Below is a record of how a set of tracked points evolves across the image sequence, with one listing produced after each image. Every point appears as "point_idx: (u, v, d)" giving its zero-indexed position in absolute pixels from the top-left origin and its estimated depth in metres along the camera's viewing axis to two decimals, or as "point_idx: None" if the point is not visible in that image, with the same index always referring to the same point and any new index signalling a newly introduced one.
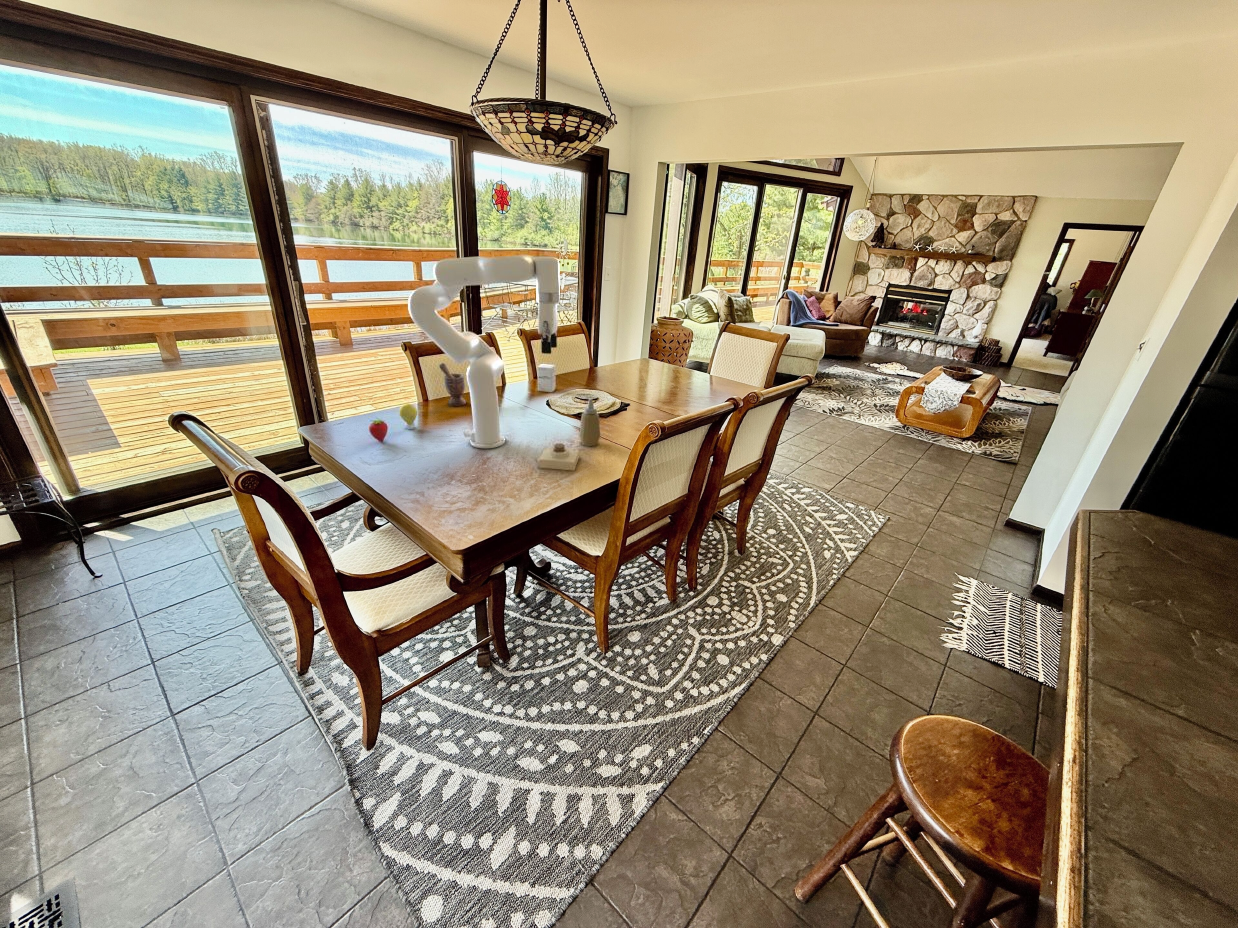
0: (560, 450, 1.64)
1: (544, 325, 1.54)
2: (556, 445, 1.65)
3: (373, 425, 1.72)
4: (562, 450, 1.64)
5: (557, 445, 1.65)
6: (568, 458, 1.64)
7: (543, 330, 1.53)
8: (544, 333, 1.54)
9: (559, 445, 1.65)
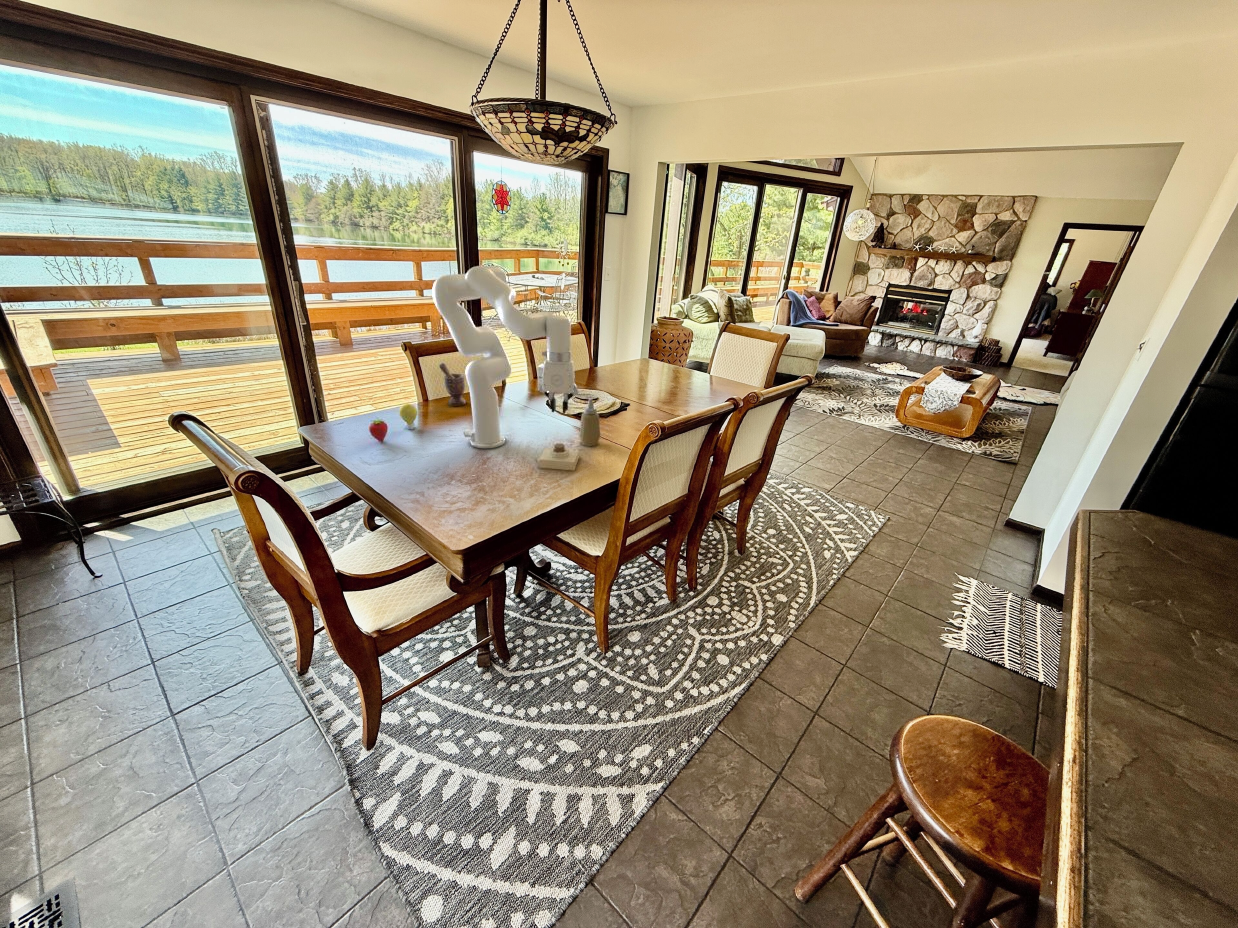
0: (560, 450, 1.64)
1: (575, 386, 1.56)
2: (556, 445, 1.65)
3: (373, 425, 1.72)
4: (562, 450, 1.64)
5: (557, 445, 1.65)
6: (568, 458, 1.64)
7: (578, 392, 1.56)
8: None
9: (559, 445, 1.65)
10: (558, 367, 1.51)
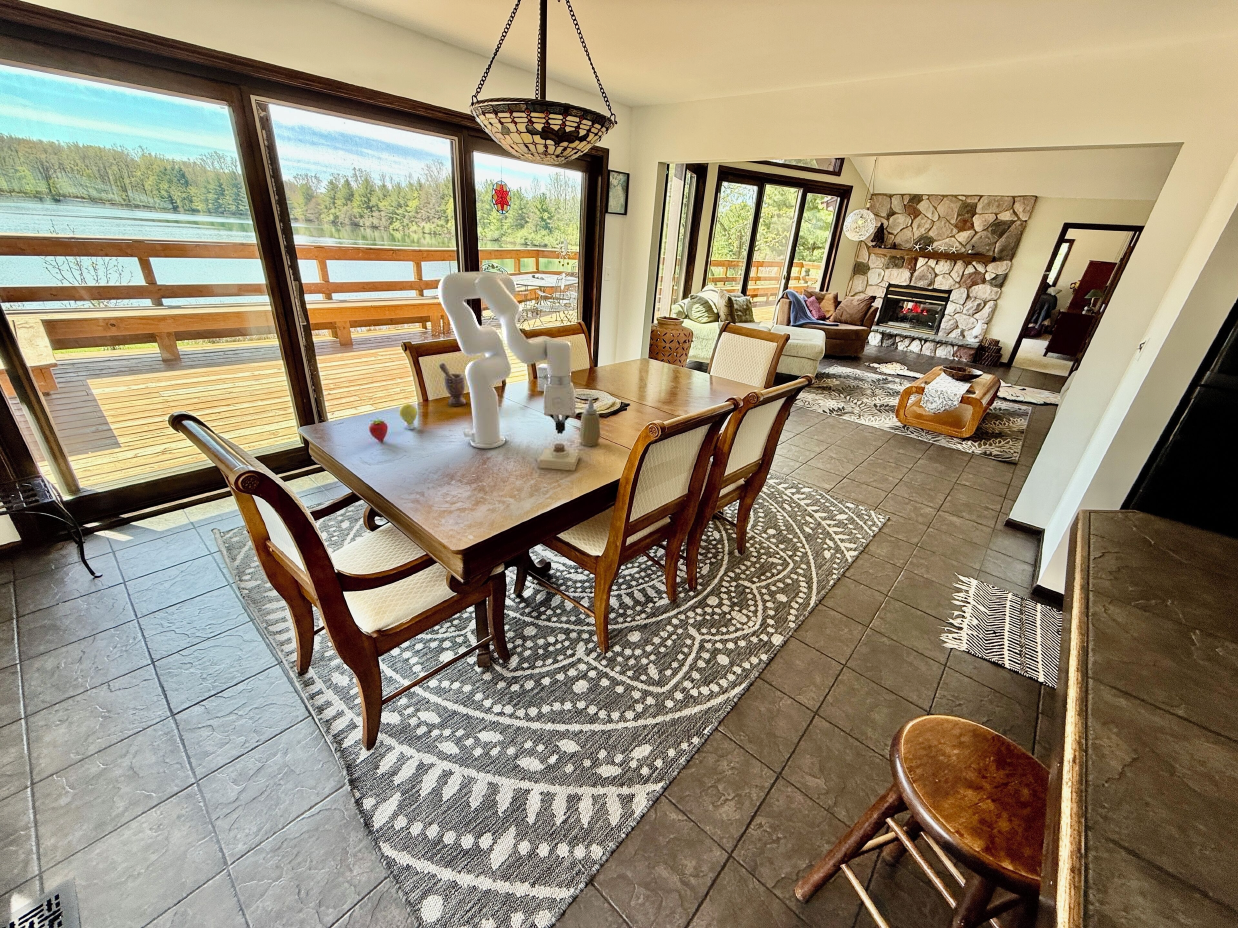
0: (560, 450, 1.64)
1: (574, 409, 1.59)
2: (556, 445, 1.65)
3: (373, 425, 1.72)
4: (562, 450, 1.64)
5: (557, 445, 1.65)
6: (568, 458, 1.64)
7: (575, 415, 1.60)
8: None
9: (559, 445, 1.65)
10: (558, 390, 1.54)
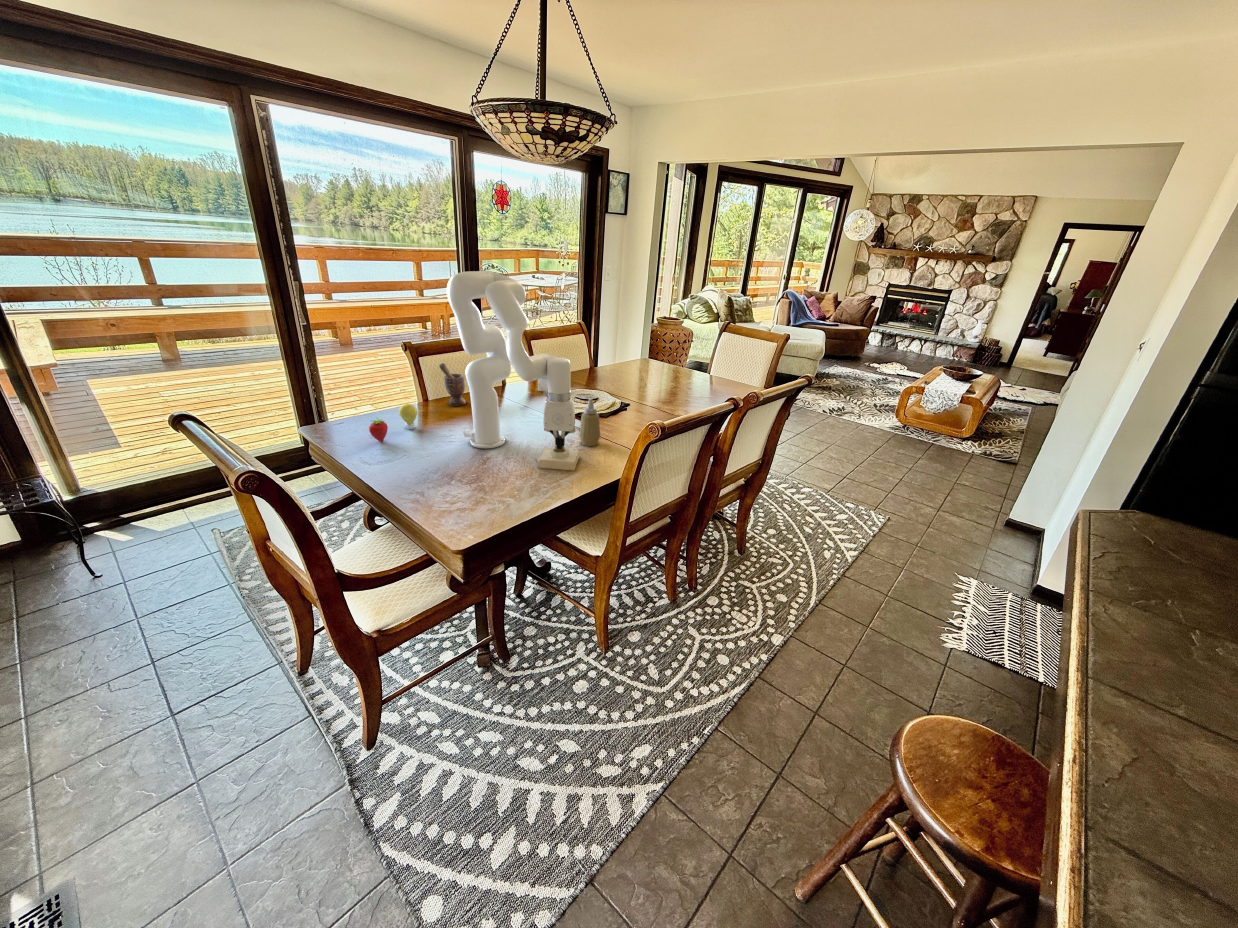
0: None
1: (573, 425, 1.61)
2: (556, 447, 1.65)
3: (373, 425, 1.72)
4: None
5: None
6: (568, 458, 1.64)
7: (574, 431, 1.62)
8: None
9: None
10: (558, 407, 1.56)
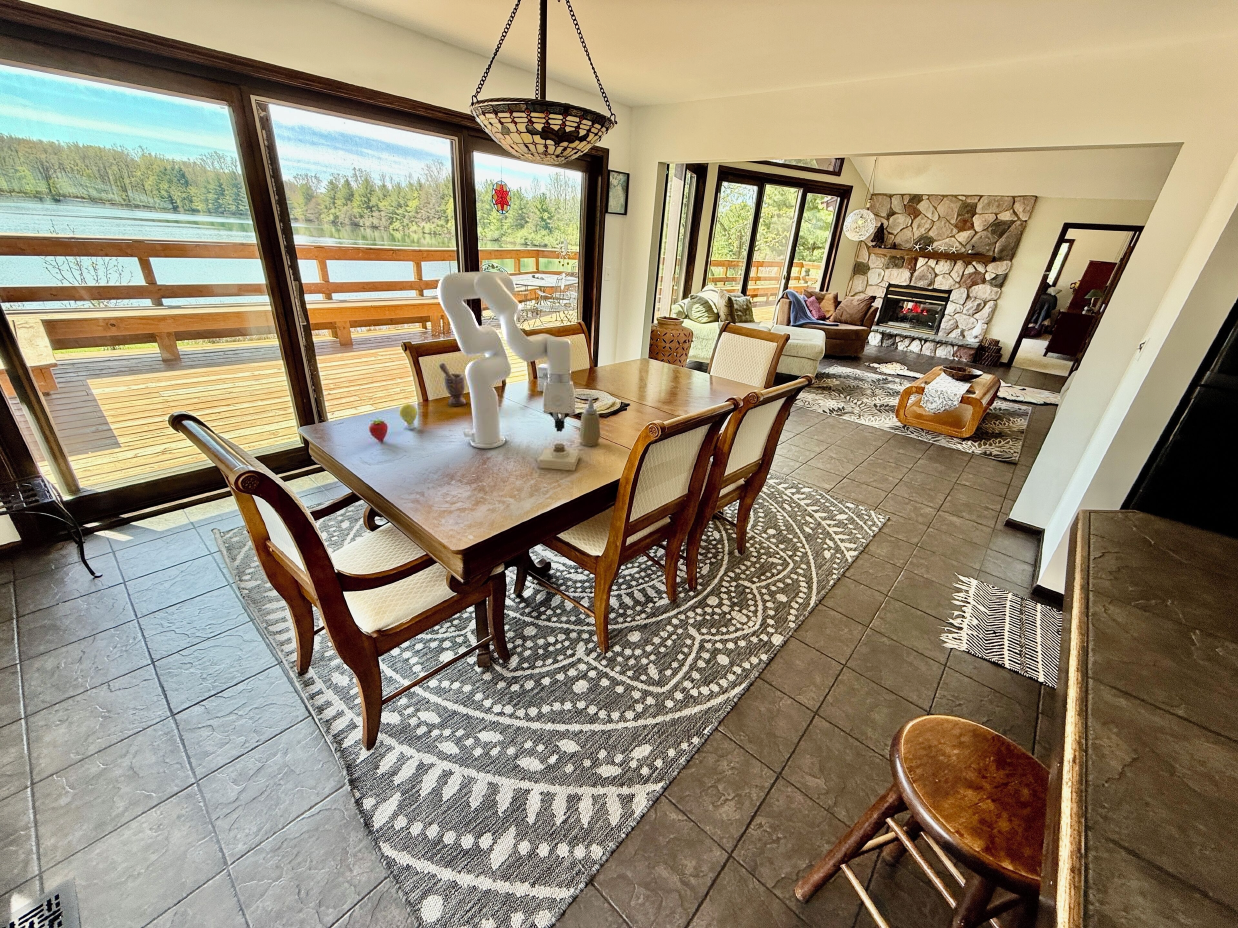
0: (560, 450, 1.64)
1: (574, 407, 1.59)
2: (556, 445, 1.65)
3: (373, 425, 1.72)
4: (562, 450, 1.64)
5: (557, 445, 1.65)
6: (568, 458, 1.64)
7: None
8: None
9: (559, 445, 1.65)
10: (558, 388, 1.54)
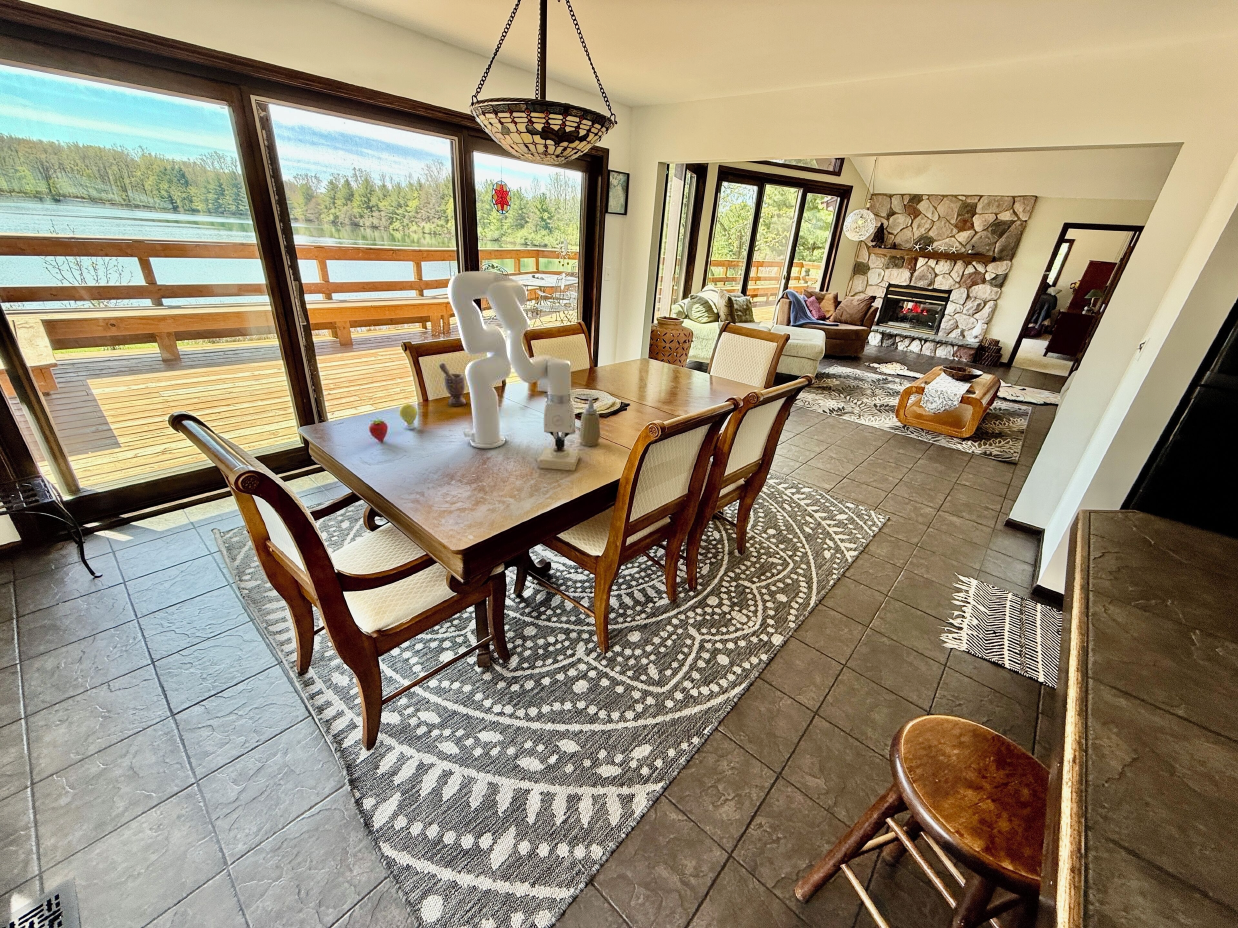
0: None
1: (574, 426, 1.62)
2: (556, 448, 1.66)
3: (373, 425, 1.72)
4: None
5: None
6: (568, 458, 1.64)
7: None
8: None
9: None
10: (558, 409, 1.56)
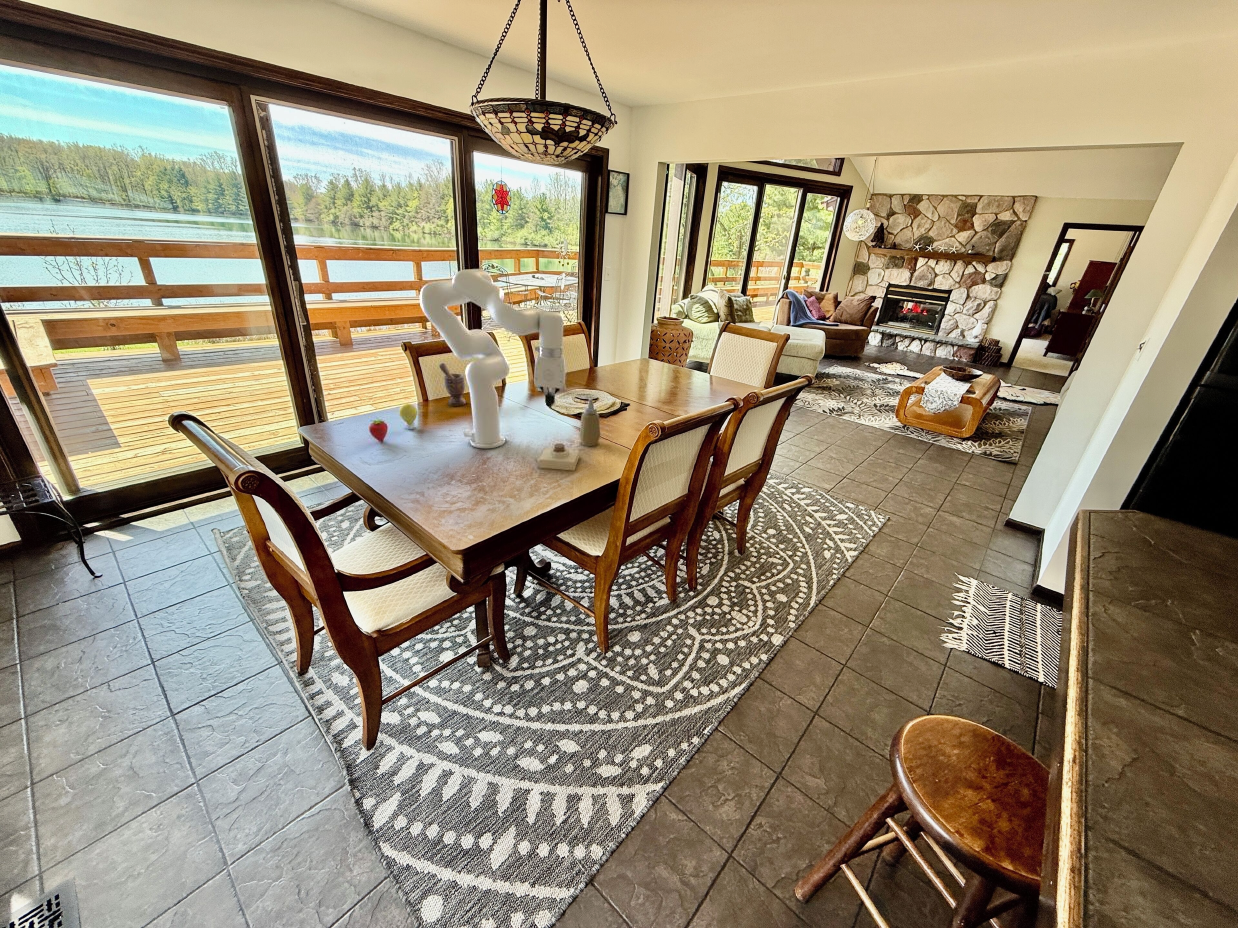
0: (560, 450, 1.64)
1: (564, 382, 1.60)
2: (556, 445, 1.65)
3: (373, 425, 1.72)
4: (562, 450, 1.64)
5: (557, 445, 1.65)
6: (568, 458, 1.64)
7: None
8: None
9: (559, 445, 1.65)
10: (549, 363, 1.55)
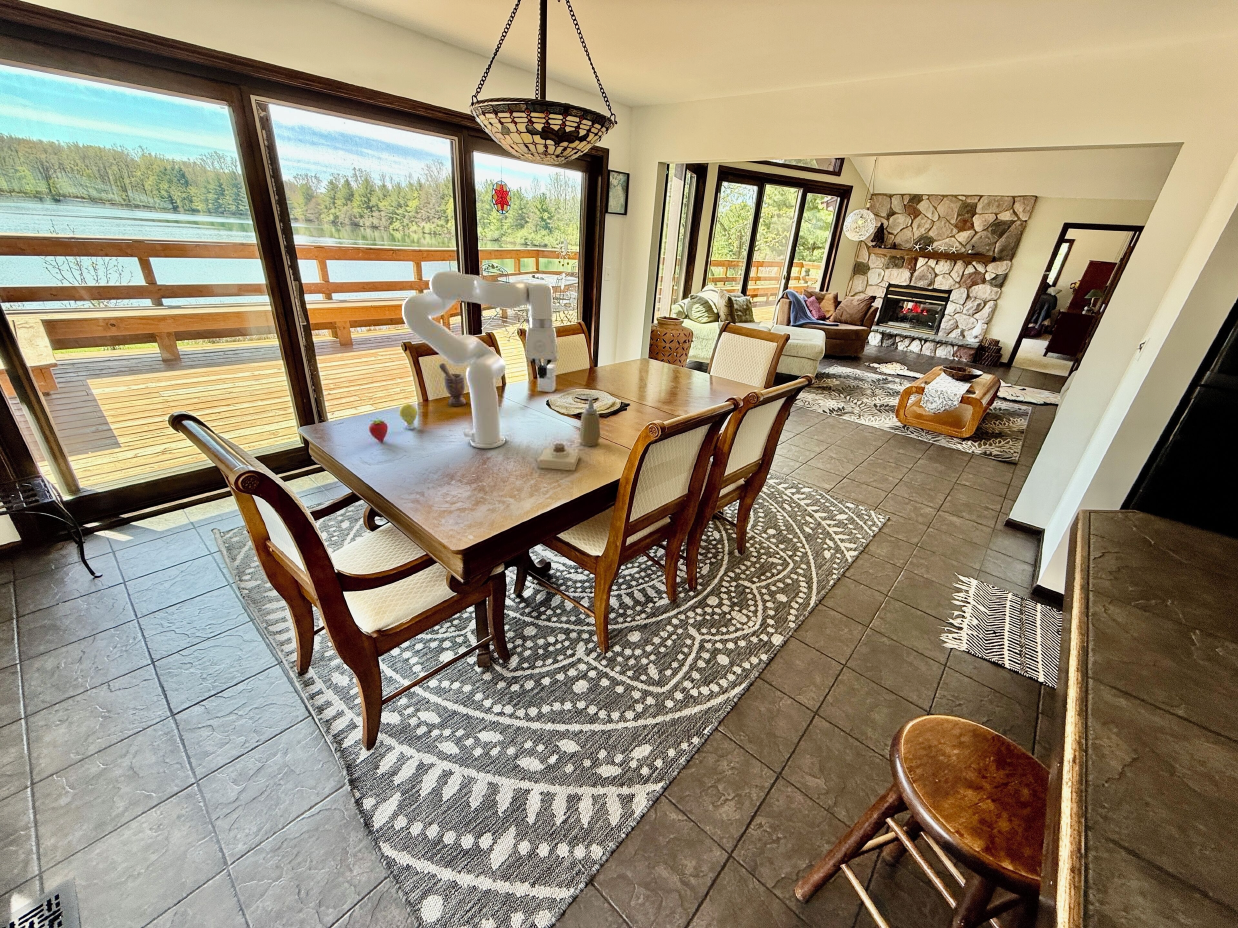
0: (560, 450, 1.64)
1: (556, 353, 1.63)
2: (556, 445, 1.65)
3: (373, 425, 1.72)
4: (562, 450, 1.64)
5: (557, 445, 1.65)
6: (568, 458, 1.64)
7: None
8: None
9: (559, 445, 1.65)
10: (540, 334, 1.58)
